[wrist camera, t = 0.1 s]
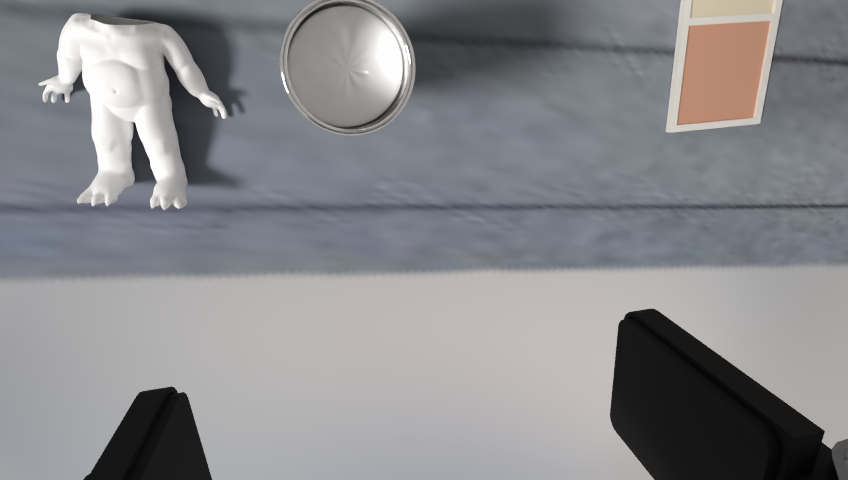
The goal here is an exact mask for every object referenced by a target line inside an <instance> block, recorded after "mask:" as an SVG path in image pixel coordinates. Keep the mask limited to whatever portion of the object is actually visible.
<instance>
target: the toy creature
mask: <svg viewBox="0 0 848 480" xmlns="http://www.w3.org/2000/svg"><path fill="white" fill-rule="evenodd" d="M164 55H165V56H166V58H167V60H168V62H169V64H170V65H171V67H172V68H173V69H174V70H175V72H176V74H177V77H178V79H179V81H180V82H181V84H182V85H183V86H184V87H185V88H186V90H187V91H188V92H189V93H190V94H192V95H193V96H195V97H198V98H199V99H200V101H201V102H202V103H203V104H204V105H205V106H207V107H211V108H212V109H213V112H214V115H215V116H216V117H217V116H218V111H217V109H218V110H219V111H220V113H221V116H222V118H223V119H226V118H227V114H226V109H225V107H224V106H223V104H222V102H221V101H220V99H219V97H218V96H217V95H216V94H215V93H213V92H211V91H210V90H209V89H208V86H207V84H206V81H205V78H204V76H203V74H202V72H201V70H200V69H199V67H198V66H197V65H196V64H195V62H194V61H193V58H192V55H191V53H190V51H189V50H188V48H187V46H186V44H185V43H184V41H183V40H182V38H181V37H180V36H179V35H178V34H177V33H176V32H175V31H174V30H173V29H172V28H171V27H170V26H168V25H165V24H160V23H157V22H153V21H145V20H144V21H143V20H137V19H128V18H121V17H113V16H107V15H101V14H82V13H76V14H74V15H72V16H71V17H70V18H69V20H68V21H67V23H66V24H65V26H64V28H63V30H62V32H61V35H60V39H59V49H58V51H57V61H58V67H59V75H58V76H55V77H53V78H51V79H48V80H45V81H43V82H40V83H39V85H40V86H43V85H46V88H45V90H44V92H43V101H44V102H47V100H48V94H49V93H50V92H51V91H53V93H52V98H51V101H52V103H55V102H56V101H57V96H58V94H59V93H64V97H65V102H66V103H68V102H69V101H70V92H72V91H73V83H74V82H75V81H76V79H77V77H78V76H79V74H80V72H81V71H82V79H83V83H84V85H85V88H86V89H87V91H88V92H89V93H90V99H91V110H92V129H91V132H92V138H93V141H94V143H95V147H96V152H97V155H98V166H99V171H98V174H97V176H96V177H95V179H94V180H93V182H92V184H91V185H90V187H89V188H87V189H86V190H85V191H84V192H83V193H82V194H81V195H80V197H79V198H78V199H77V202H78V203H90V202H91V204H92V206H94V205H96V204H101V203H103V202H105V204H106V206H109V205H110V204H112V203H114V202H115V201H116V200H117V199H118V196H119V195H120V194H121V193H122V191H123V190H124V188H127V187H130V186H132V185H133V184H134V181H135V175H134V171H133V169H132V162H131V152H132V146H131V140H132V138H133V131H134V122H135V124H136V128H137V131H138V134H139V137H140V139H141V141H142V143H143V145H144V148H145V151H146V153H147V155H148V157H149V159H150V166H151V169H152V171H153V174H154V176H155V179H156V181H157V184H156V185H155V188H154V191H153V196H152V197H151V199H150V204H151V208H154V207H155V206H159V205H161V206H162V208H163V209H164V210H165V209H167V208H168V207H169V206H170V205H171V204H173V205H174V206H175V207H177V208H178V209H180V208H182V207H184V206H186V204H187V196H186V187H187V184H188V182H187V178H186V173H185V167H184V163H183V161H182V159H181V155H180V148H179V144H178V136H177V132H176V129H175V125H174V121H173V116H172V101H171V97H170V95H169V79H168V76H167V74H166V72H165V66H164Z"/></svg>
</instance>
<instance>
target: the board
mask: <svg viewBox="0 0 848 480" xmlns="http://www.w3.org/2000/svg"><path fill="white" fill-rule="evenodd" d="M782 2H783V0H681V3H680V12H679V21H678V29H677V38H676V47H675V55H674V64H673V73H672V82H671V90H670V99H669V108H668V116H667V125H666V132H669V133H671V132H681V131H691V130H701V129H712V128H722V127H732V126H742V125H752V124H760V121H761V116H762V111H763V105H764V100H765V94H766V89H767V83H768V78H769V72H770V67H771V61H772V56H773V51H774V45H775V40H776V34H777V29H778V23H779V18H780V12H781V7H782Z"/></svg>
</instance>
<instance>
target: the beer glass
mask: <svg viewBox="0 0 848 480" xmlns="http://www.w3.org/2000/svg"><path fill="white" fill-rule="evenodd" d="M280 72H281V77H282V81H283V84H284V87H285V90H286V92H287V94H288V96H289V98H290V100H291V102H292V103H293V105H294V106H295V107H296V109H297V110H298V111H299V112H300V113H301V114H302V115H303V116H304V117H305V118H306V119H307V120H308V121H310V122H311V123H312V124H314V125H315V126H317V127H319V128H320V129H322V130H325V131H327V132H330V133H333V134H337V135H342V136H361V135H366V134H370V133H373V132H375V131H378V130H380V129H382V128H384V127H385V126H387V125H388V124H389V123H391V122H392V121H393V120H394V119H395V118H396V117H397V116H398V115H399V114H400V113H401V111H402V110H403V109H404V107H405V106H406V104H407V102H408V100H409V98H410V96H411V93H412V90H413V86H414V82H415V73H416V64H415V56H414V51H413V47H412V44H411V41H410V39H409V36H408V34H407V32H406V30H405V29H404V27H403V26H402V24H401V23H400V21H399V20H398V19H397V18H396V17H395V15H394V14H393V13H392V12H390V11H389V10H388V9H387V8H386V7H384V6H383V5H382V4H380V3H378V2H377V1H375V0H314V1H312V2H310V3H309V4H307V5H306V6H305V7H303V8H302V9H301V10H300V11H299V12H298V13H297V14H296V16H295V17H294V18H293V19H292V21H291V22H290V24H289V26H288V28H287V30H286V32H285V34H284V37H283V40H282V44H281V50H280Z"/></svg>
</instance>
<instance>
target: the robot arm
mask: <svg viewBox="0 0 848 480" xmlns="http://www.w3.org/2000/svg"><path fill="white" fill-rule="evenodd" d="M610 418H611V422H612V425H613V427H614V429H615V431H616V432H617V434H618V435H619V436H620V437H621V439H622V440H623V441H624V442H625V443H626V445H627V446H628V447H629V448H630V450H631V451H632V452H633V453H634V455H635V456H636V457H637V459H638V460H639V461H640V462H641V463H642V465H643V466H644V467H645V468H646V470H647V471H648V472H649V473H650V475H651V476H652V477H653V478H654V480H848V439H846V440H843V441H840V442H837V443H836V444H835V445H834V447H833V448H832V450H831V449H830V448H829V447H827V446H826V445H825V444H823V443H822V439H823V435H824V432H825V431H824V430H822V429H821V428H820V427H818V426H817V425H816V424H814V423H813V422H811V421H810V420H808V419H807V418H806V417H804V416H803V415H802V414H800V413H799V412H797V411H796V410H795V409H793V408H792V407H791V406H789V405H788V404H786V403H785V402H783V401H782V400H781V399H779V398H778V397H777V396H775V395H774V394H772V393H771V392H770V391H768V390H767V389H766V388H764V387H763V386H761V385H760V384H759V383H757V382H756V381H754V380H753V379H752V378H750V377H749V376H747V375H746V374H745V373H743V372H742V371H741V370H739V369H738V368H736V367H735V366H734V365H732V364H731V363H729V362H728V361H727V360H725V359H724V358H722V357H721V356H720V355H718V354H717V353H716V352H714V351H713V350H711V349H710V348H708V347H707V346H706V345H704V344H703V343H702V342H700V341H699V340H697V339H696V338H695V337H693V336H692V335H691V334H689V333H688V332H686V331H685V330H683V329H682V328H681V327H679V326H678V325H677V324H675V323H674V322H672V321H671V320H669V319H668V318H667V317H666V316H664V315H663V314H661V313H660V312H659V311H657V310H655V309H646V310H640V311H634V312H629V313H627V314H626V315H625V318H624V320H621V321H620V323H619V326H618V336H617V347H616V358H615V368H614V379H613V390H612V400H611V410H610ZM84 480H212V478H211V475H210V472H209V468H208V464H207V461H206V458H205V454H204V451H203V447H202V444H201V441H200V437H199V434H198V431H197V427H196V424H195V420H194V417H193V413H192V410H191V406H190V404H189V400H188V397H187V395H186V394H185V393H184V392H182V393H177V390H176V389H175V388H174V387H167V388H161V389H154V390H149V391H142V392H140V393H139V394H138V395H137V396H136V398H135V400H134V401H133V403H132V405H131V406H130V408H129V410H128V411H127V413H126V415H125V417H124V418H123V420H122V422H121V423H120V425H119V427H118V428H117V430H116V432H115V433H114V435H113V437H112V438H111V440H110V442H109V443H108V445H107V447H106V448H105V450H104V452H103V453H102V455H101V457H100V458H99V460H98V462H97V463H96V465H95V467H94V468H93V470H92V472H91V473H90V474H89V475H87V476H86V477H85V478H84Z"/></svg>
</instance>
